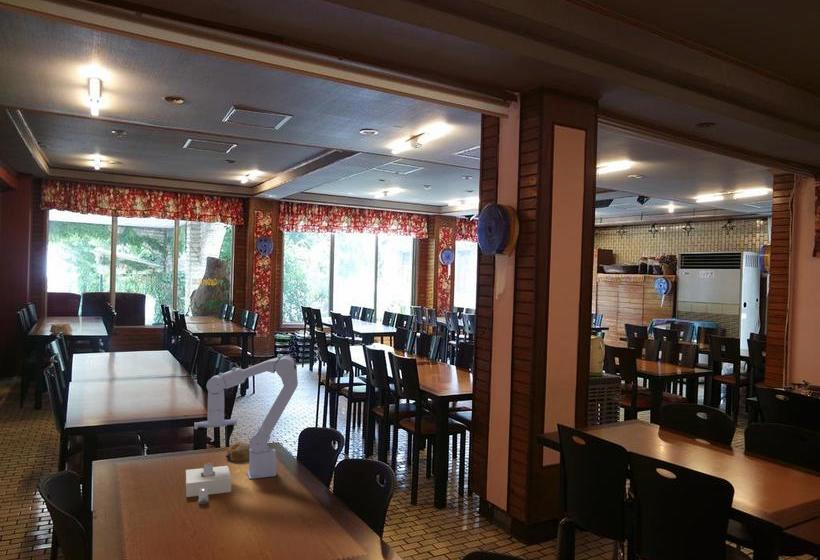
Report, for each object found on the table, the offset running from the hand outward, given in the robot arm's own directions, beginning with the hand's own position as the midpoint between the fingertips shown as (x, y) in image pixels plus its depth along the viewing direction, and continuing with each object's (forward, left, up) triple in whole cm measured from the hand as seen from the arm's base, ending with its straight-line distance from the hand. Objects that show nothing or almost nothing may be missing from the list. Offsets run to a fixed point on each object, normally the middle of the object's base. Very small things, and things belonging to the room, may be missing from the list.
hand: (215, 447), depth 211 cm
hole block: (+3, +11, -10) cm, 15 cm away
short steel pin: (+5, +24, -10) cm, 27 cm away
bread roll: (-10, -18, -11) cm, 23 cm away
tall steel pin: (+3, +11, -10) cm, 16 cm away
